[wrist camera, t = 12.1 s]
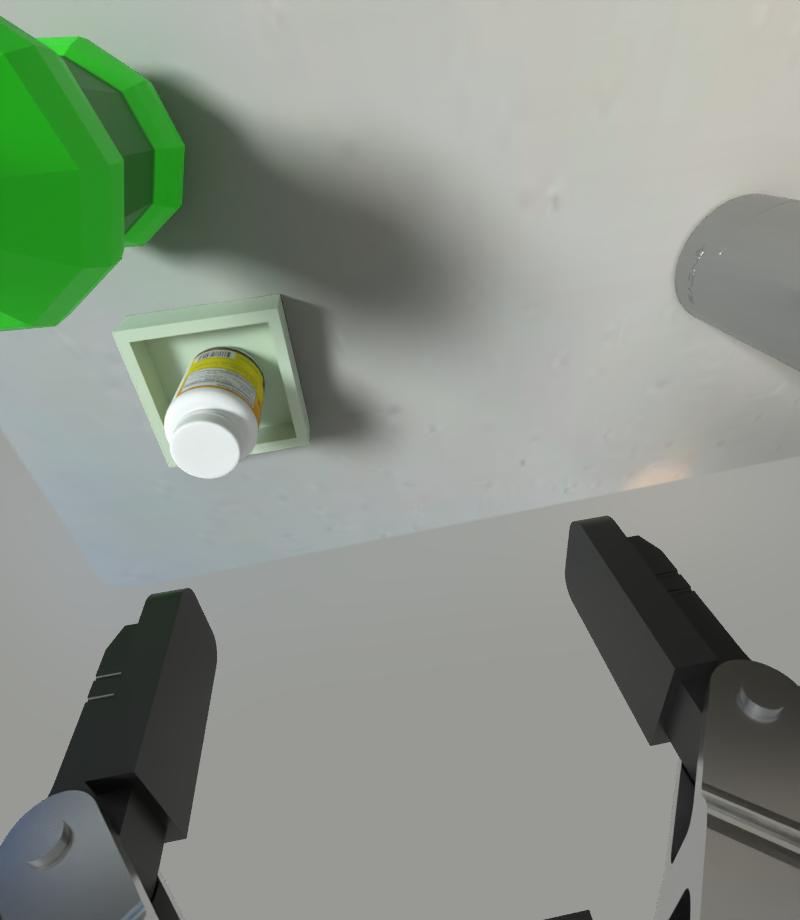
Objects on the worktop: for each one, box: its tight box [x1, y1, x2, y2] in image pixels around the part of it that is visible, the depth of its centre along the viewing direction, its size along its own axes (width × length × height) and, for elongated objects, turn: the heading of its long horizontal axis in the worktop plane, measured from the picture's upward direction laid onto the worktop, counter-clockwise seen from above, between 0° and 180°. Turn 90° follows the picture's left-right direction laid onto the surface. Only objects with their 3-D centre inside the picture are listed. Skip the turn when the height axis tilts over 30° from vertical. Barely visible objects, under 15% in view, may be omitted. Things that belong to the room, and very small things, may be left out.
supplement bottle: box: [164, 346, 265, 478], centre depth 35 cm, size 6×6×10 cm
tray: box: [112, 294, 310, 468], centre depth 38 cm, size 11×11×3 cm
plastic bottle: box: [0, 16, 185, 331], centre depth 21 cm, size 10×10×25 cm
